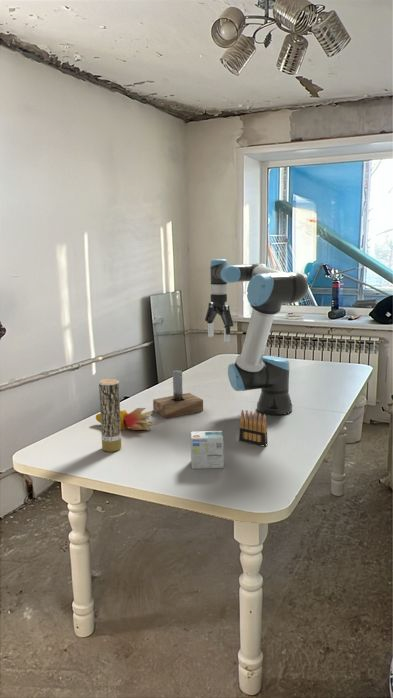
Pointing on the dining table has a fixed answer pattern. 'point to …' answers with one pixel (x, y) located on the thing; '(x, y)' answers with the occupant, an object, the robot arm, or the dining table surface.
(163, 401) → the bore block
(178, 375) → the pin
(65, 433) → the dining table surface
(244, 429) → the ammunition clip
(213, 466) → the light bulb box
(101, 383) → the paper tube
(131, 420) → the torch
